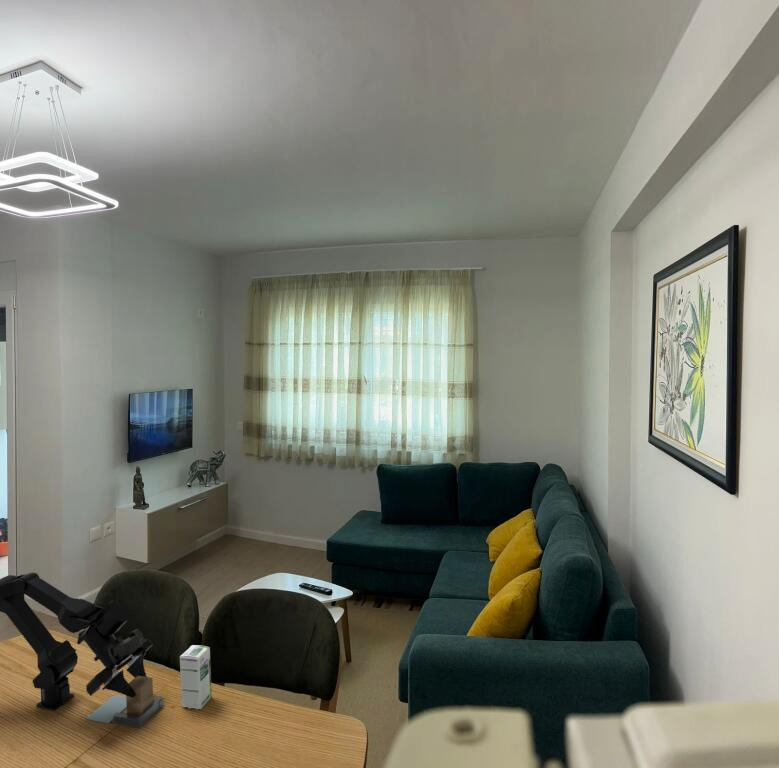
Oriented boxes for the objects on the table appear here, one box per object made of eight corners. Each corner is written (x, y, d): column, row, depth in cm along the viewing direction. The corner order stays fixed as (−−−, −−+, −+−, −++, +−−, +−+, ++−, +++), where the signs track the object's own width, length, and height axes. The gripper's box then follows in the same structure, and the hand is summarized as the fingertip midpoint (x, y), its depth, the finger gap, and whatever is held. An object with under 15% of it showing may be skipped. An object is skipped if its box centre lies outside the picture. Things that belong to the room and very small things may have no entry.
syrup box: (200, 710, 143) (199, 657, 142) (180, 707, 144) (179, 655, 143) (212, 696, 148) (210, 646, 148) (192, 694, 150) (191, 643, 149)
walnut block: (127, 718, 140) (125, 685, 139) (139, 707, 144) (138, 675, 144) (141, 721, 139) (140, 688, 138) (153, 710, 143) (152, 677, 142)
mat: (86, 719, 140) (86, 718, 140) (114, 695, 149) (114, 694, 149) (108, 723, 138) (108, 722, 138) (136, 699, 148) (135, 698, 148)
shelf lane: (113, 723, 138) (113, 713, 138) (137, 701, 147) (137, 692, 147) (139, 728, 136) (139, 718, 136) (162, 705, 145) (162, 696, 145)
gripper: (93, 644, 132) (133, 694, 130) (145, 609, 150) (181, 653, 148) (68, 671, 135) (107, 720, 132) (123, 633, 153) (157, 676, 151)
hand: (140, 690), depth 141 cm, fingers closed on walnut block, 4 cm apart
